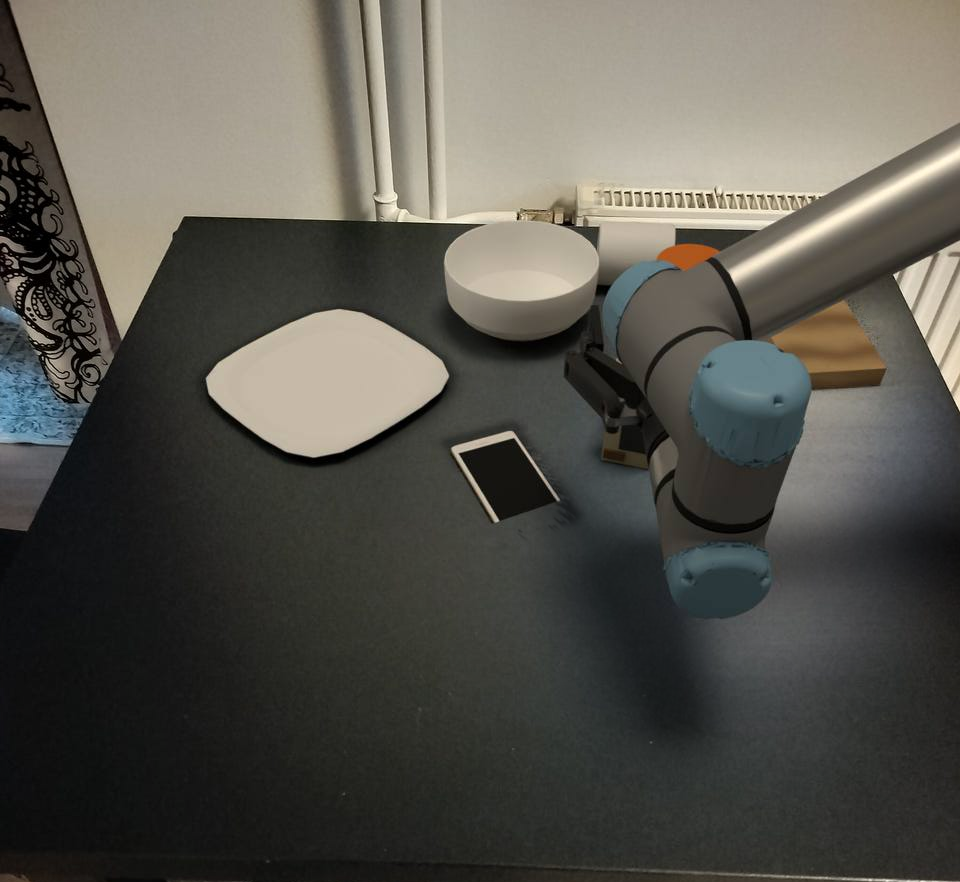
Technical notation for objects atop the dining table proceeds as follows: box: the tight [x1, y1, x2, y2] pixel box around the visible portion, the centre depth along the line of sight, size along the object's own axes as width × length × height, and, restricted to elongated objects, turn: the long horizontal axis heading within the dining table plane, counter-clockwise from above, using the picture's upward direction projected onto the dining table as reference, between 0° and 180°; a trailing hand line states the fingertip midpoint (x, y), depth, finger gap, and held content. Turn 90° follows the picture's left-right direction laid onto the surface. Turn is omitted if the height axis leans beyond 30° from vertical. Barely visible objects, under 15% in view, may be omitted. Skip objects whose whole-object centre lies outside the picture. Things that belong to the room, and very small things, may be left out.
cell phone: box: [450, 430, 561, 524], centre depth 98 cm, size 8×16×1 cm, turn 22°
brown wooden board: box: [763, 299, 888, 390], centre depth 114 cm, size 20×12×2 cm, turn 5°
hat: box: [656, 243, 721, 271], centre depth 91 cm, size 10×10×9 cm
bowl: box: [443, 219, 599, 342], centre depth 115 cm, size 20×20×8 cm
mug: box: [596, 220, 677, 286], centre depth 122 cm, size 12×10×8 cm
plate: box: [205, 308, 450, 460], centre depth 109 cm, size 25×25×2 cm
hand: (661, 316), depth 88 cm, fingers open, 13 cm apart
